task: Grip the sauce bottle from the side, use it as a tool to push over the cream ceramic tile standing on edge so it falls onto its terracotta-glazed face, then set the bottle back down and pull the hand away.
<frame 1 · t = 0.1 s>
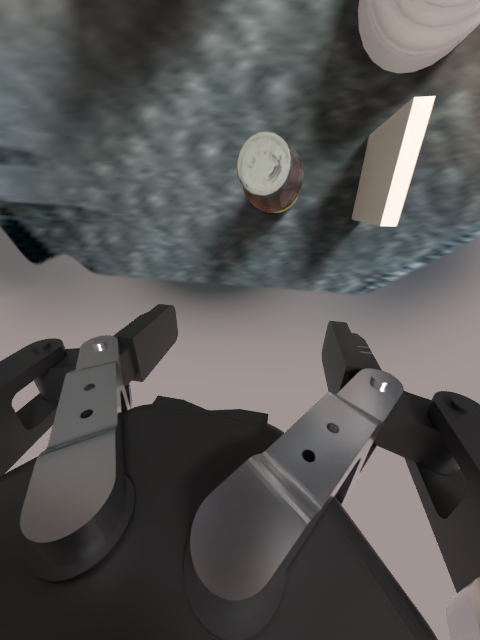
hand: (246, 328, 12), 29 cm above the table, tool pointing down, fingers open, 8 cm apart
sauce bottle: (277, 188, 34), on the table
tile: (365, 180, 32), on the table
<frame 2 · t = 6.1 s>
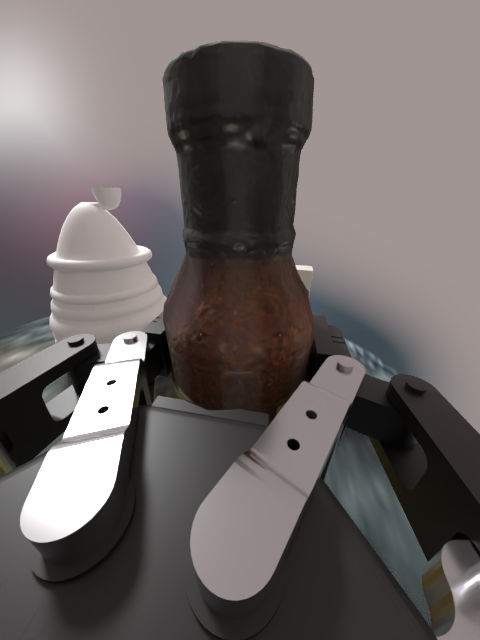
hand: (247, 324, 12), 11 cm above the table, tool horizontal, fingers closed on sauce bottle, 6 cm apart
sauce bottle: (237, 487, 15), on the table, touching gripper
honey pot: (124, 346, 30), on the table
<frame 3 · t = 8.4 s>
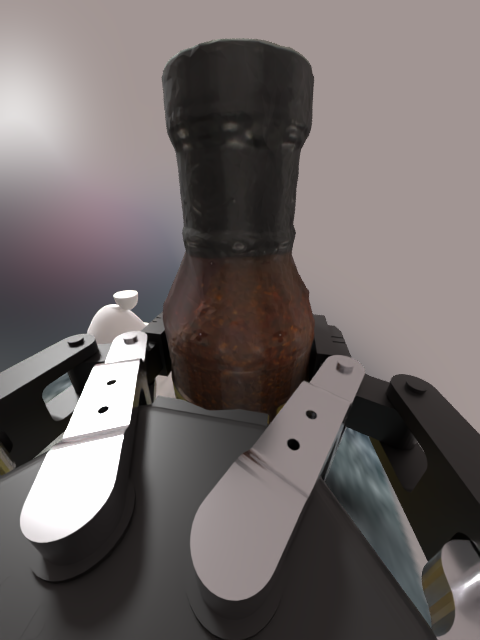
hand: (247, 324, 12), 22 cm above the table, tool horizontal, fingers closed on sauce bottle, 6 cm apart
sauce bottle: (237, 487, 15), point 11 cm above the table, touching gripper
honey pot: (137, 407, 35), on the table
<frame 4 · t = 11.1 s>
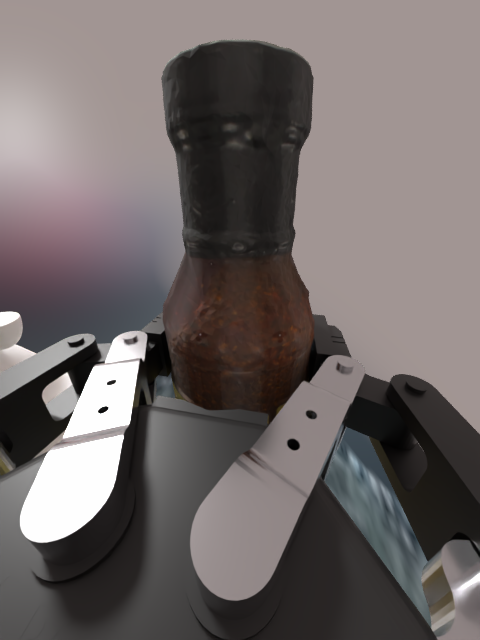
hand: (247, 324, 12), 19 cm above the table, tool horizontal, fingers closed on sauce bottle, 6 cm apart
sauce bottle: (238, 487, 15), point 7 cm above the table, touching gripper
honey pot: (60, 492, 22), on the table
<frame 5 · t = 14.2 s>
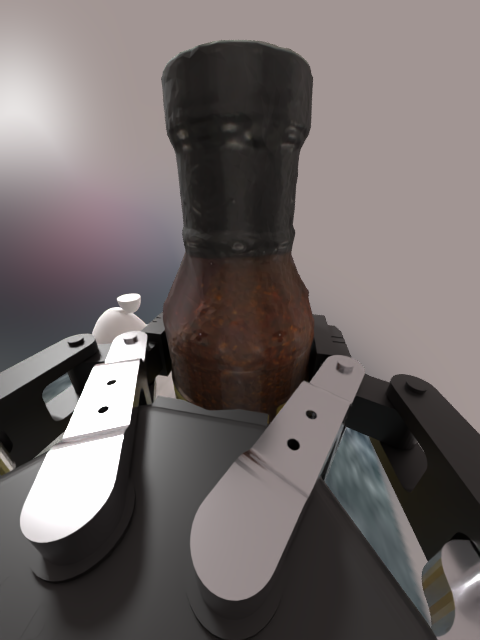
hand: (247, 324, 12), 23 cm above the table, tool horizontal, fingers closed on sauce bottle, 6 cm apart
sauce bottle: (238, 487, 15), point 11 cm above the table, touching gripper
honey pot: (140, 407, 36), on the table
when the fingers open (12 cm above the table, at t = 17.2 s): sauce bottle drops 1 cm, on the table.
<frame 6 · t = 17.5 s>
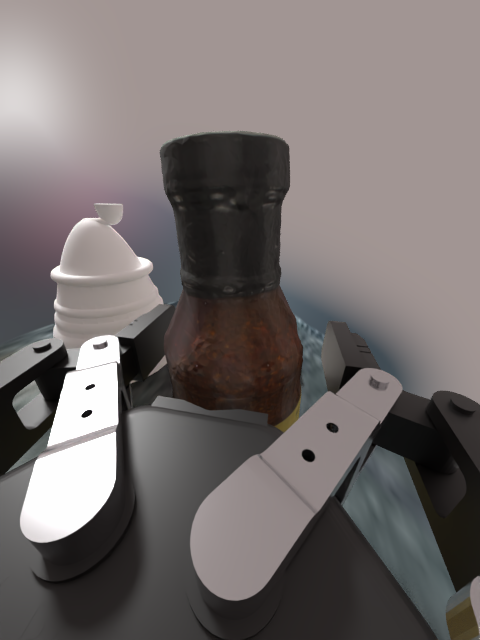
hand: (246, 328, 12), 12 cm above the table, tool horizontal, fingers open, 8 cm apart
sauce bottle: (239, 501, 16), on the table
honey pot: (125, 355, 31), on the table
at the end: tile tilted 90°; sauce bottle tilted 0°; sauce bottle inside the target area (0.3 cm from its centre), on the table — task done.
